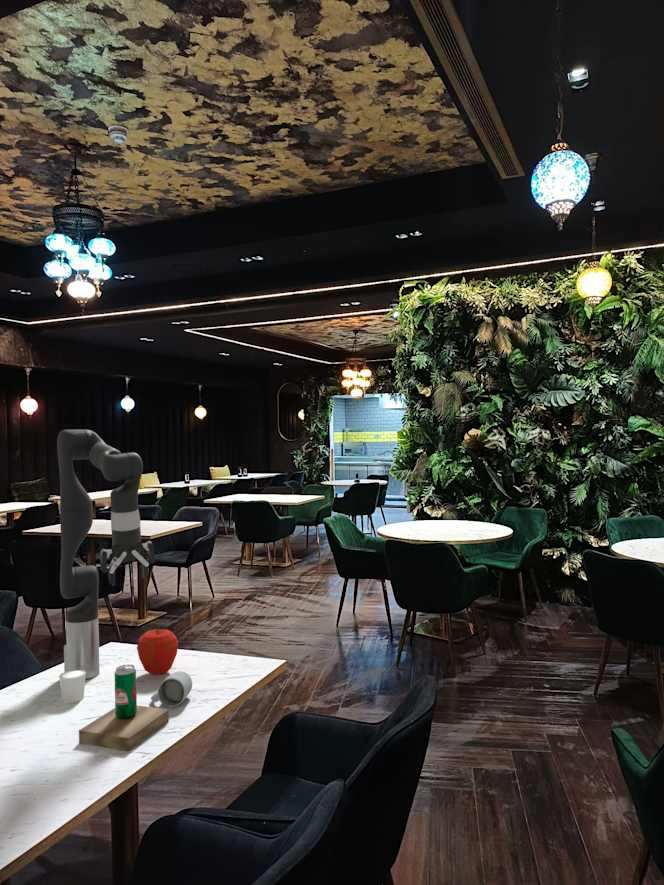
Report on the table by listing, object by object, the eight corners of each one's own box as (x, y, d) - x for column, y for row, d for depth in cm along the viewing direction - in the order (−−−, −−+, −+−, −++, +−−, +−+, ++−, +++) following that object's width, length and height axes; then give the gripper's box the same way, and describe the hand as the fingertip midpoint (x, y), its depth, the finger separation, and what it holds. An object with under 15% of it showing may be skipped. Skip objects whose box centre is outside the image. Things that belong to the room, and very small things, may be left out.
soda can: (110, 717, 155) (109, 669, 155) (126, 710, 160) (125, 662, 160) (125, 721, 153) (124, 672, 153) (141, 713, 158) (140, 665, 158)
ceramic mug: (194, 695, 176) (193, 667, 176) (185, 707, 168) (184, 678, 168) (157, 695, 177) (156, 668, 177) (146, 707, 169) (145, 679, 169)
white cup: (76, 704, 171) (76, 679, 171) (54, 703, 173) (53, 677, 173) (91, 694, 178) (90, 670, 178) (69, 693, 179) (69, 668, 179)
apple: (129, 675, 193) (128, 629, 193) (163, 664, 202) (162, 620, 202) (153, 684, 185) (152, 636, 185) (186, 672, 194) (185, 626, 194)
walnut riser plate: (79, 743, 149) (78, 730, 149) (122, 714, 164) (121, 703, 164) (129, 751, 144) (128, 738, 144) (168, 721, 160) (168, 709, 160)
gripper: (148, 518, 179) (150, 572, 182) (95, 526, 172) (99, 582, 175) (155, 524, 173) (158, 580, 176) (101, 533, 166) (105, 592, 168)
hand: (129, 581), depth 175 cm, fingers open, 8 cm apart
